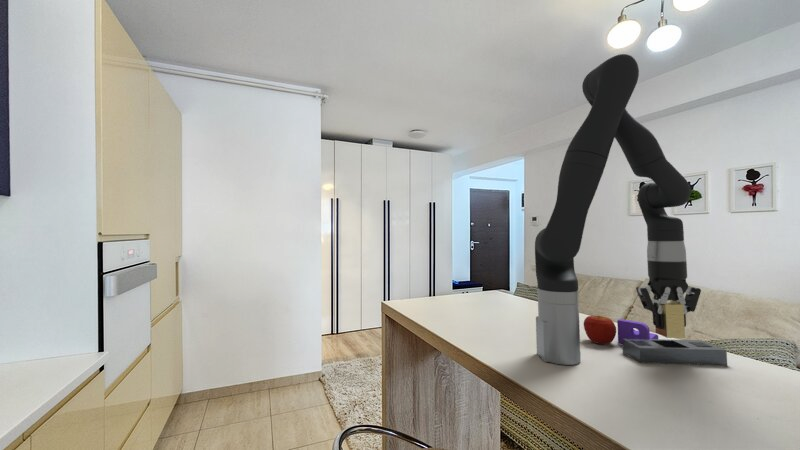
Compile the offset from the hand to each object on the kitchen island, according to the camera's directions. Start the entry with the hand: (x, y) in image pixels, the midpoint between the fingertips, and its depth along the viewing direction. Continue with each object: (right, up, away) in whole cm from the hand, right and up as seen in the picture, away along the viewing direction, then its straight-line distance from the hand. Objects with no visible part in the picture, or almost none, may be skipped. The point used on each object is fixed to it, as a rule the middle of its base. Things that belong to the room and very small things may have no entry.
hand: (669, 328), depth 79 cm
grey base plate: (0, -7, 0) cm, 7 cm away
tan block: (0, -2, 0) cm, 2 cm away
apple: (-10, -8, +12) cm, 18 cm away
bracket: (+2, -8, +12) cm, 15 cm away
